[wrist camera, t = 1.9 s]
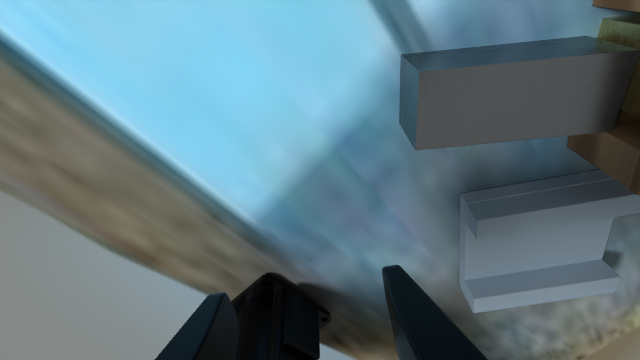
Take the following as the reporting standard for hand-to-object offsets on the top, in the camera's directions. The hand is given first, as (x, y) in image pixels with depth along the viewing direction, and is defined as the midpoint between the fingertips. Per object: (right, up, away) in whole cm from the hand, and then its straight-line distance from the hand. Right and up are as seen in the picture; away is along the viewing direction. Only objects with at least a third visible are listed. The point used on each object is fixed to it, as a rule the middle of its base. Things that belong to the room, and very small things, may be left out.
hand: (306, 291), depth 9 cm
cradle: (+14, -1, +15) cm, 20 cm away
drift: (+9, +8, +10) cm, 16 cm away
